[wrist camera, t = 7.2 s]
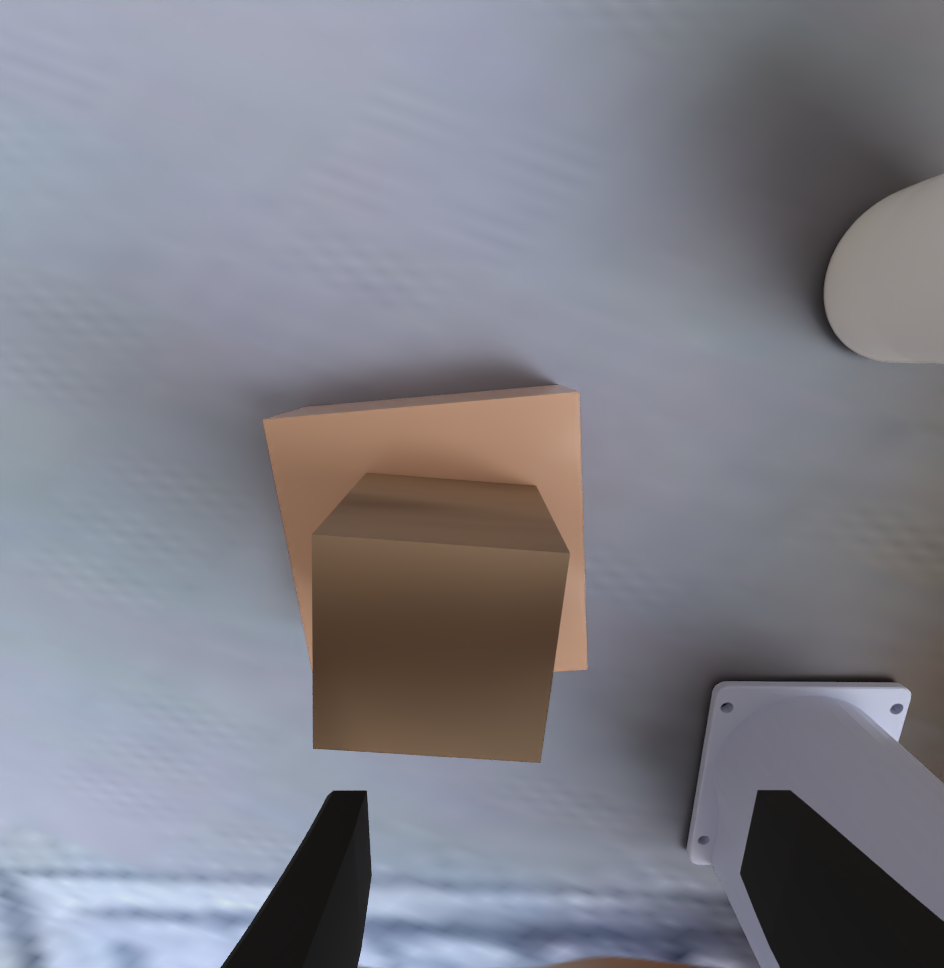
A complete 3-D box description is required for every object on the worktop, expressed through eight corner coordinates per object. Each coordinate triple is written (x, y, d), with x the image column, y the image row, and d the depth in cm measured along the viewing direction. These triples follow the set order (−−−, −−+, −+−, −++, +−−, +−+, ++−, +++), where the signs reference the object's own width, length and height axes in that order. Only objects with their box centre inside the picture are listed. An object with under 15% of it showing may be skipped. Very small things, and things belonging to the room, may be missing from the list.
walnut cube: (518, 635, 15) (540, 762, 11) (362, 624, 15) (313, 748, 11) (536, 485, 14) (570, 553, 9) (366, 472, 14) (311, 534, 9)
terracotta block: (564, 607, 20) (587, 669, 16) (346, 625, 20) (315, 690, 16) (555, 383, 17) (579, 391, 14) (308, 405, 18) (262, 419, 14)
